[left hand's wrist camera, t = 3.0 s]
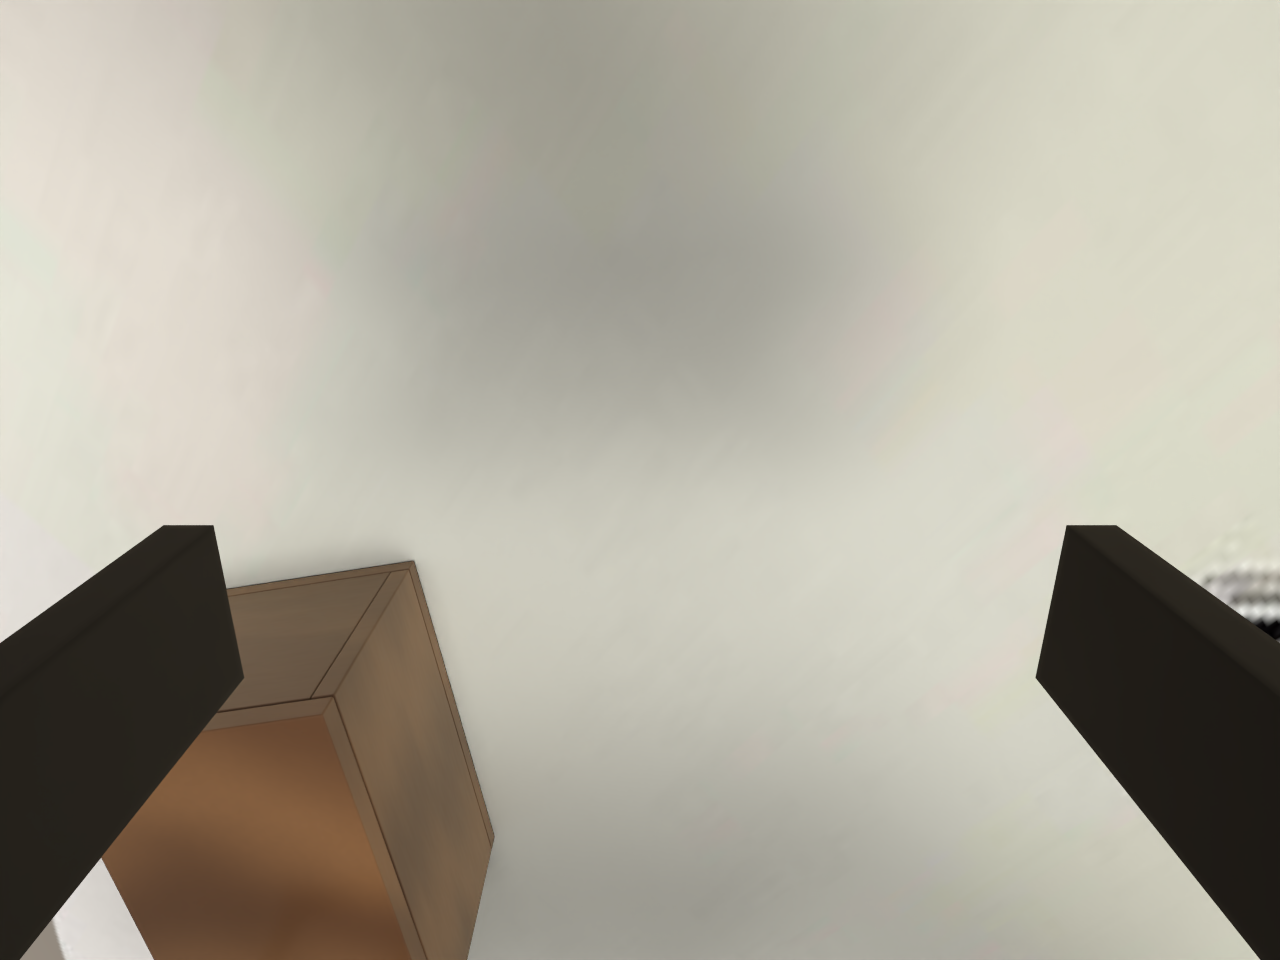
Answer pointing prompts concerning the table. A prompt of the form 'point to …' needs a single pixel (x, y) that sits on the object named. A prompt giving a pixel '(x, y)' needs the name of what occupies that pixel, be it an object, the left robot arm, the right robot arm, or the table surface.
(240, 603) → the chest
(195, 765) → the lid
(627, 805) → the table surface
